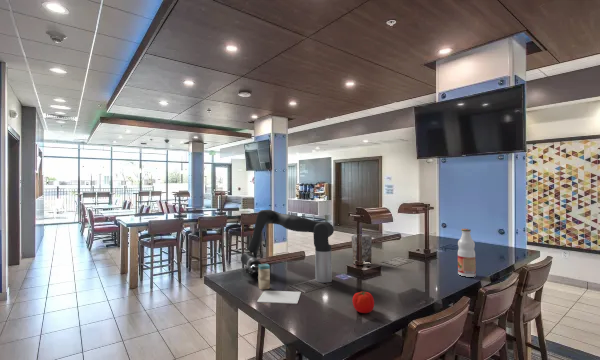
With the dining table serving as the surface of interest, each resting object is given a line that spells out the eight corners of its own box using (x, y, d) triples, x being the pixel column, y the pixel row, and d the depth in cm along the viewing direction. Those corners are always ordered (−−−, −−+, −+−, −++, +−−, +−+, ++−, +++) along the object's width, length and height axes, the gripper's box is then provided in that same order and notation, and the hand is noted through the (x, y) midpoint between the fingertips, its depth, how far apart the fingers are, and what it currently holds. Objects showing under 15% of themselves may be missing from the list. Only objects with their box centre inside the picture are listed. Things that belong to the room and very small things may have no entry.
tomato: (371, 306, 136) (371, 288, 136) (377, 316, 126) (377, 296, 126) (350, 307, 136) (350, 288, 136) (355, 317, 126) (355, 296, 126)
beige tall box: (267, 285, 166) (267, 263, 166) (269, 288, 161) (269, 265, 162) (258, 286, 164) (258, 264, 164) (260, 289, 160) (260, 266, 160)
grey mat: (301, 292, 155) (301, 291, 155) (297, 303, 140) (297, 303, 140) (264, 291, 157) (264, 290, 157) (256, 302, 142) (256, 301, 142)
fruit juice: (471, 279, 176) (471, 230, 177) (455, 275, 183) (454, 229, 184) (478, 276, 182) (477, 229, 183) (462, 272, 189) (461, 227, 190)
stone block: (357, 266, 206) (357, 236, 206) (351, 264, 212) (350, 235, 212) (372, 264, 211) (372, 235, 212) (366, 261, 218) (366, 233, 218)
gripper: (242, 259, 185) (247, 266, 170) (265, 257, 190) (271, 263, 175) (242, 272, 185) (247, 279, 170) (265, 269, 190) (272, 276, 175)
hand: (259, 271), depth 172 cm, fingers open, 8 cm apart
